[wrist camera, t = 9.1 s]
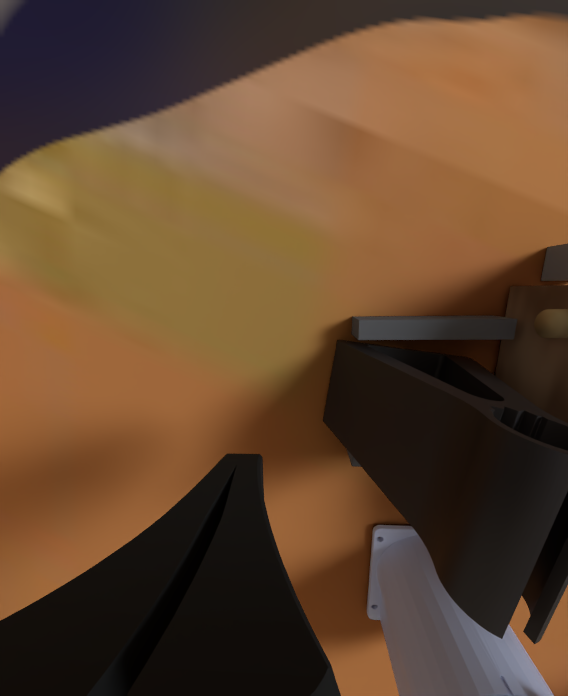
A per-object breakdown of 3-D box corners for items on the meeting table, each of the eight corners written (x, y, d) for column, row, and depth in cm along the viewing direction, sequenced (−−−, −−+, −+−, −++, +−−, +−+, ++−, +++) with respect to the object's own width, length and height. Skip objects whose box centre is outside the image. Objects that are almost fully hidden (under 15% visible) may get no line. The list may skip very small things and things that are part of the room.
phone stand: (321, 417, 19) (361, 617, 8) (336, 338, 18) (412, 431, 6) (444, 436, 19) (676, 668, 7) (468, 357, 18) (798, 489, 6)
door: (496, 480, 19) (631, 610, 12) (460, 479, 19) (569, 607, 12) (534, 285, 16) (752, 283, 8) (490, 286, 16) (666, 284, 9)
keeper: (470, 450, 19) (490, 469, 17) (346, 448, 20) (351, 466, 18) (492, 315, 17) (517, 319, 15) (352, 316, 17) (359, 320, 16)
